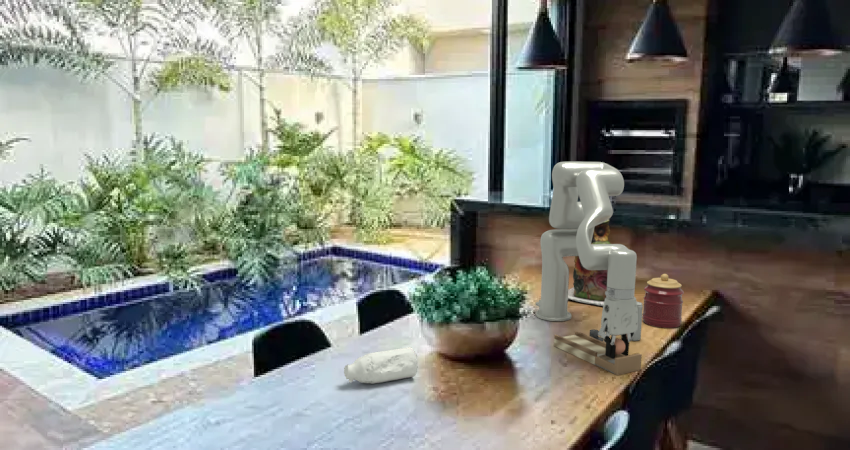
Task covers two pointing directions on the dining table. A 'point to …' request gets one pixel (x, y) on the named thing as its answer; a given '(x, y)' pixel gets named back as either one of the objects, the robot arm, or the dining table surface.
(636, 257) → the robot arm
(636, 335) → the beverage can
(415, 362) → the white bottle
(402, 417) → the dining table surface
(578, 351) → the lane
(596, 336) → the tee
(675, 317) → the canister
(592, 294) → the cookie jar
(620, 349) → the ball
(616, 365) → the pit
